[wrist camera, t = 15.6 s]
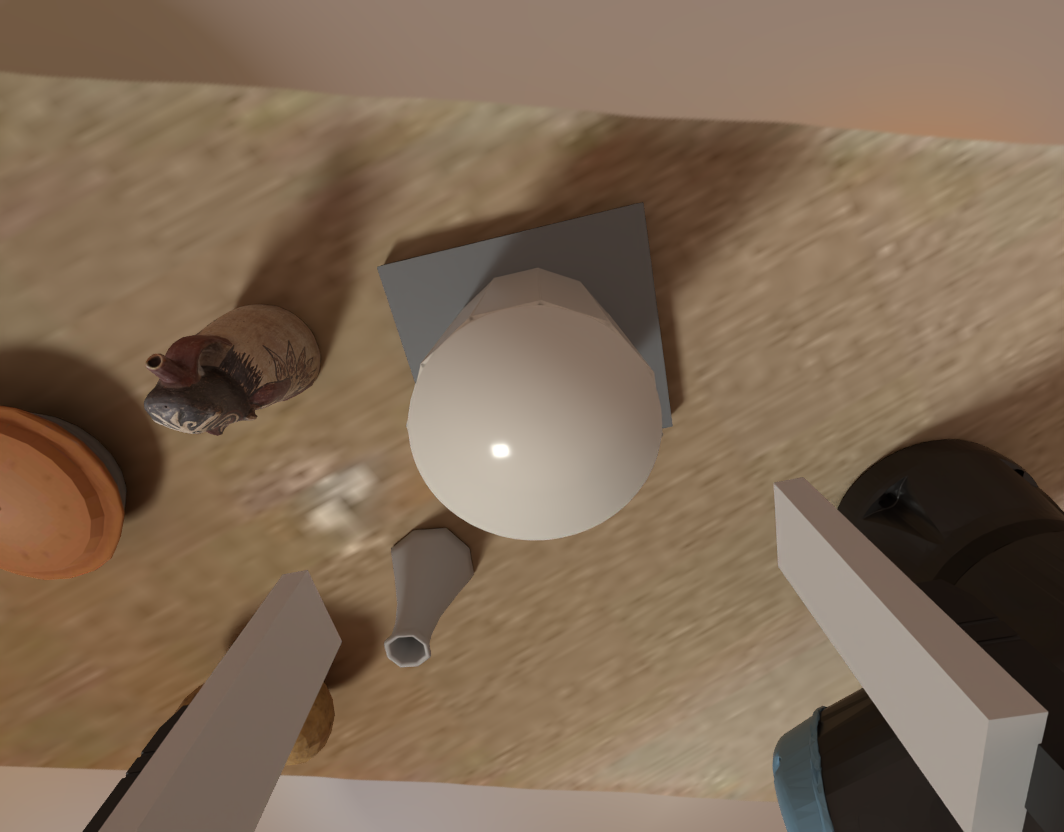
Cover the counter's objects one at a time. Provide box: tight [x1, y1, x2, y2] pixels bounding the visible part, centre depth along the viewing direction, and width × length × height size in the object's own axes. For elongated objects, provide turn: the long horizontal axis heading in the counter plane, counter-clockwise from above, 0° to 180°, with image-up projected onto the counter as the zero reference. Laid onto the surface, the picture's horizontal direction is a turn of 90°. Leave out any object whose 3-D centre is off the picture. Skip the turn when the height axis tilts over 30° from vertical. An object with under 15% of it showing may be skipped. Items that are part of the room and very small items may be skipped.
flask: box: [384, 528, 474, 667], centre depth 39 cm, size 7×7×10 cm
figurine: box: [144, 304, 320, 436], centre depth 31 cm, size 7×7×12 cm
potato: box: [175, 682, 335, 765], centre depth 46 cm, size 10×14×8 cm
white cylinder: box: [406, 268, 663, 540], centre depth 29 cm, size 11×11×14 cm
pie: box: [0, 406, 127, 580], centre depth 39 cm, size 16×16×5 cm
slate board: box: [377, 202, 673, 428], centre depth 36 cm, size 18×16×2 cm
